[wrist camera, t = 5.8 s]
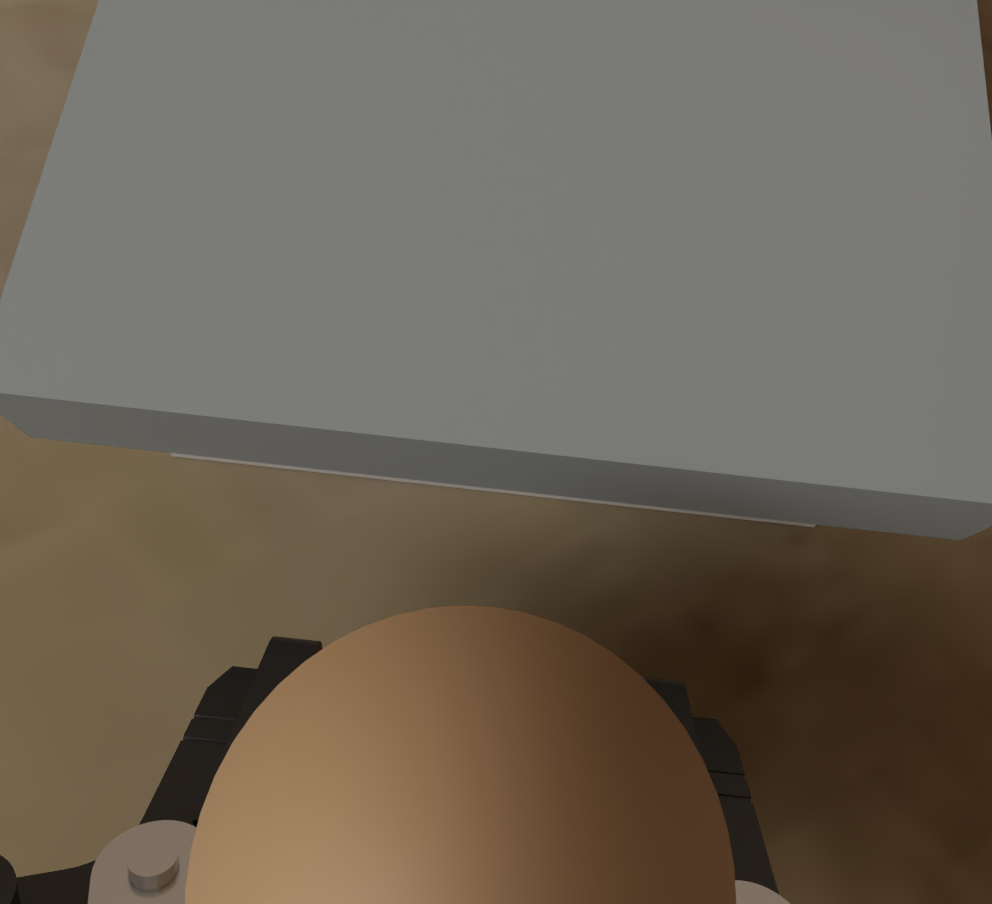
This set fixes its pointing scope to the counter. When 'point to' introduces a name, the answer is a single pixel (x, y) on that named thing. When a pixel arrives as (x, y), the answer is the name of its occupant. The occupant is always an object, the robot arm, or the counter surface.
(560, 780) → the walnut roller
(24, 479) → the counter surface
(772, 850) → the counter surface
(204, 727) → the robot arm
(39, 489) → the counter surface
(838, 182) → the grey stool
